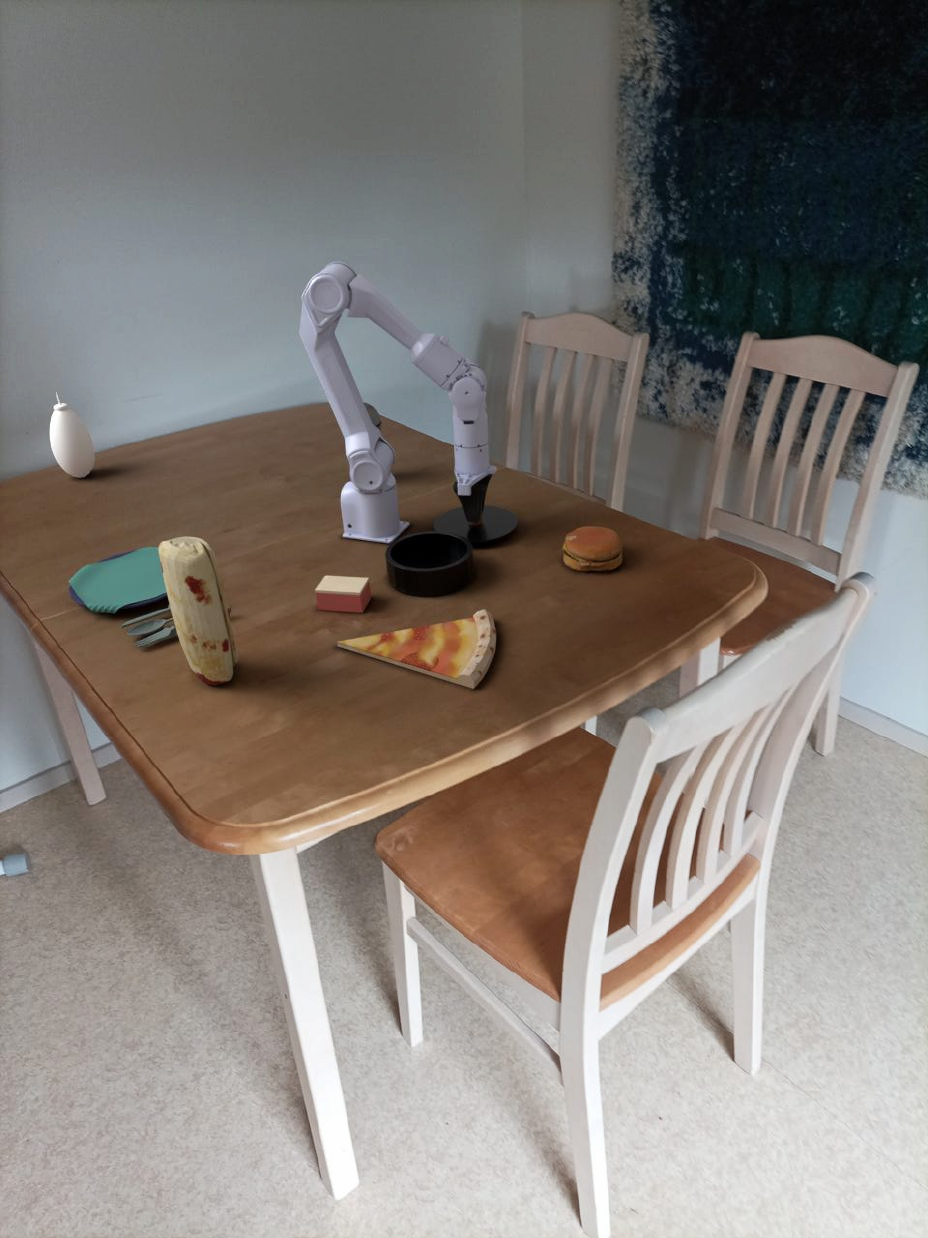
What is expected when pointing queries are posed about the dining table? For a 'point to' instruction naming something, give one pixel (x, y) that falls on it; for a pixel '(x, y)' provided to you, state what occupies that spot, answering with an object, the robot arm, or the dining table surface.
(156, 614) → the cutlery set
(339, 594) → the red and cream block
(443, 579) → the pan
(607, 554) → the burger
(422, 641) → the pizza slice
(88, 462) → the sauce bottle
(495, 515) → the pan lid
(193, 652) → the food model
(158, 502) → the dining table surface
